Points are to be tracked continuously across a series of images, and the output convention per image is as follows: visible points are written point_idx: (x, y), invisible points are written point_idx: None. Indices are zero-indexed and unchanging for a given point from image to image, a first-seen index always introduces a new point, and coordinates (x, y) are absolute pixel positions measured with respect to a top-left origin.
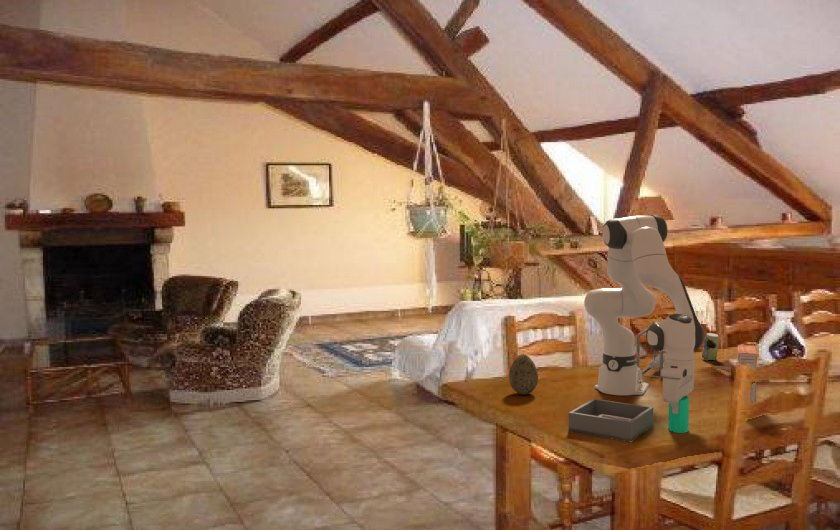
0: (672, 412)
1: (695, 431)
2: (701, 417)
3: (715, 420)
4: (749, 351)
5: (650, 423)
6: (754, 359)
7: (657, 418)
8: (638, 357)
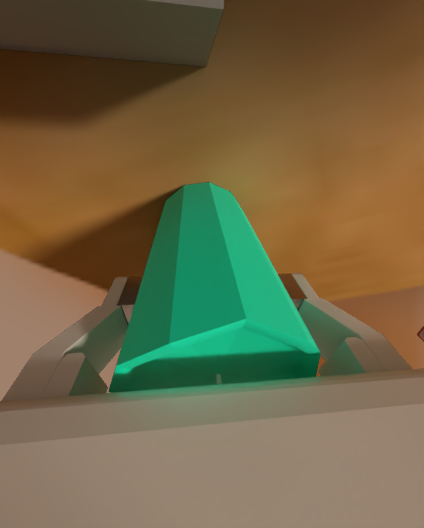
0: (116, 278)
1: None
2: (403, 249)
3: (364, 287)
4: None
5: (143, 54)
6: None
7: (398, 38)
8: None
